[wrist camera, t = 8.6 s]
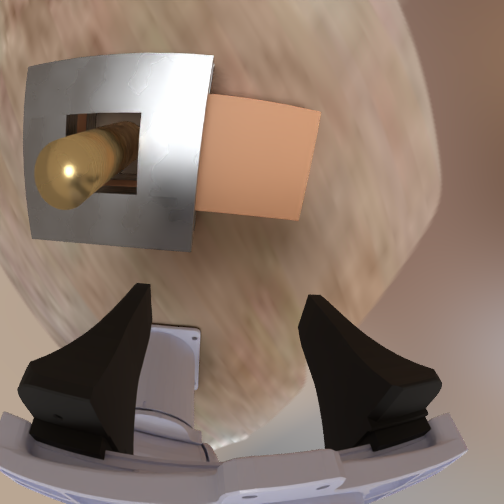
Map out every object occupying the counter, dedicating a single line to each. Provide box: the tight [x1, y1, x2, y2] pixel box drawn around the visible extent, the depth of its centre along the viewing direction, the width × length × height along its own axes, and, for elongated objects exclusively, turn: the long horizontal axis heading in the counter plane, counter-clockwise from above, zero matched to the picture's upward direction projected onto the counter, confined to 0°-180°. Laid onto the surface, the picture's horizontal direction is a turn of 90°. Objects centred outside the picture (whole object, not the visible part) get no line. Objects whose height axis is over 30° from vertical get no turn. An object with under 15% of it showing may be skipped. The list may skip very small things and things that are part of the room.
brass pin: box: [34, 121, 140, 210], centre depth 13 cm, size 3×3×9 cm
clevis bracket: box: [23, 53, 214, 252], centre depth 15 cm, size 11×11×4 cm
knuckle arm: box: [77, 94, 321, 221], centre depth 17 cm, size 7×16×3 cm, turn 81°
